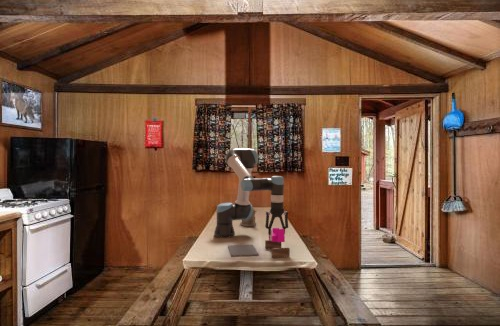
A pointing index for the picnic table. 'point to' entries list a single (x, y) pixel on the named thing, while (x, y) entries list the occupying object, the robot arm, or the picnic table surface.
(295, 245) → the picnic table surface
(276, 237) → the toy block
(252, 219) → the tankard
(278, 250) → the block
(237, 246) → the slate mat
